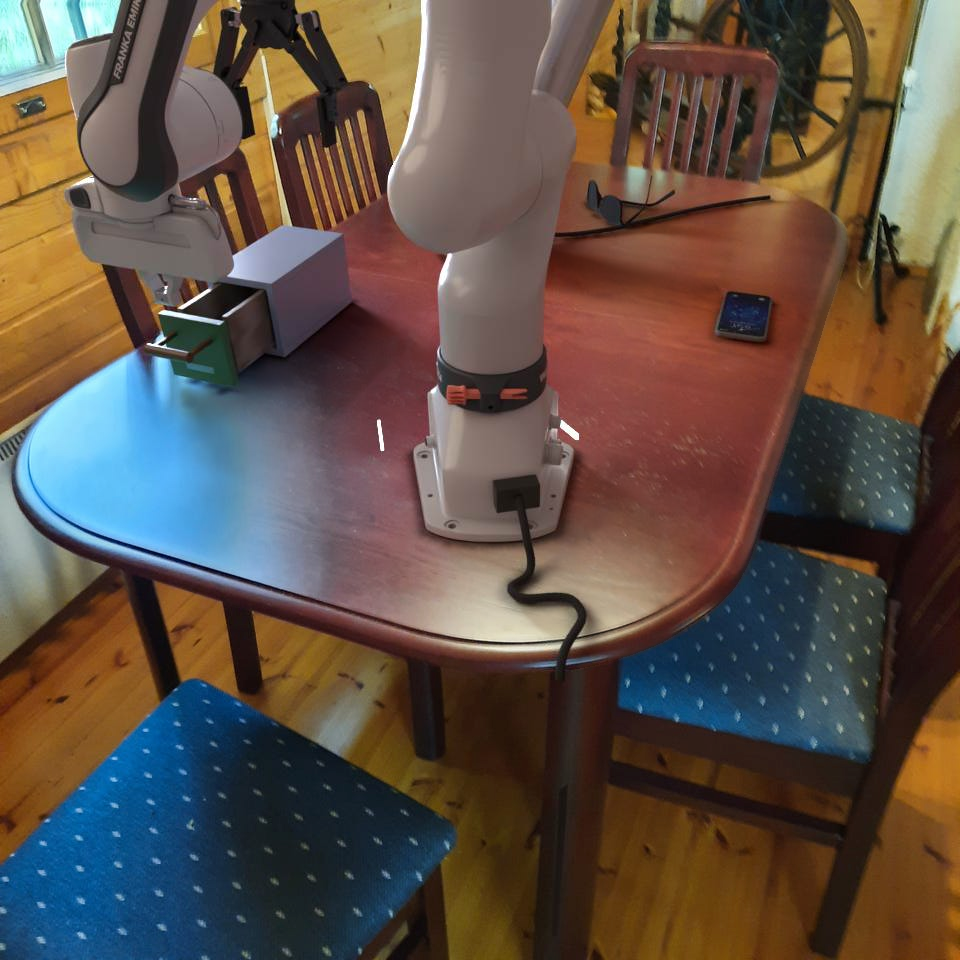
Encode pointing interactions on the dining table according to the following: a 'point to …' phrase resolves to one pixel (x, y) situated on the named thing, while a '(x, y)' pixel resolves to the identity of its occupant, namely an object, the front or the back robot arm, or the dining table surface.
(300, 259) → the cabinet
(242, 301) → the drawer
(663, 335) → the dining table surface
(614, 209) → the sunglasses
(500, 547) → the dining table surface
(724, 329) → the smartphone
